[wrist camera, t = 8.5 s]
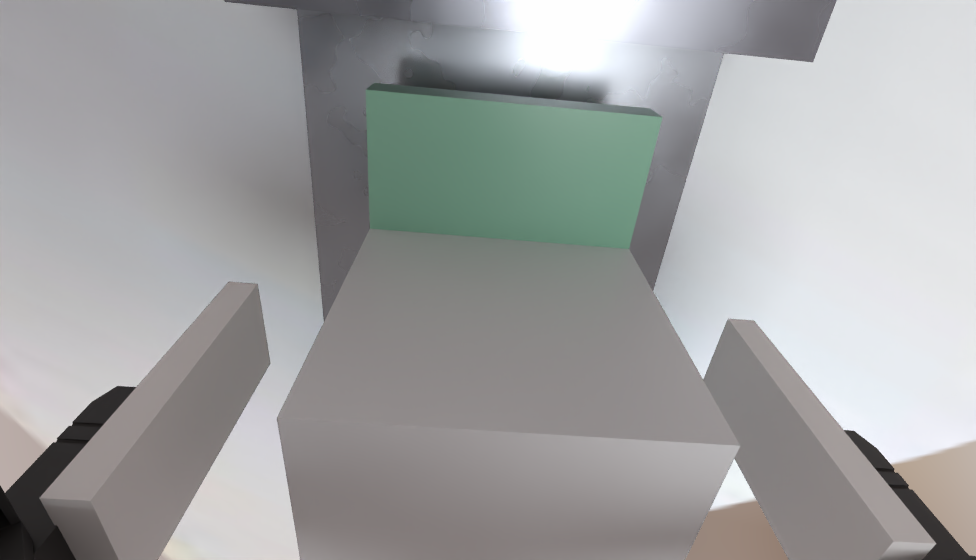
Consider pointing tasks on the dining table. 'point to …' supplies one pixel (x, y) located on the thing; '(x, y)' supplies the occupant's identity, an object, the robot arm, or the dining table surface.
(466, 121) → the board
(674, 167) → the chassis
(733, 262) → the dining table surface
